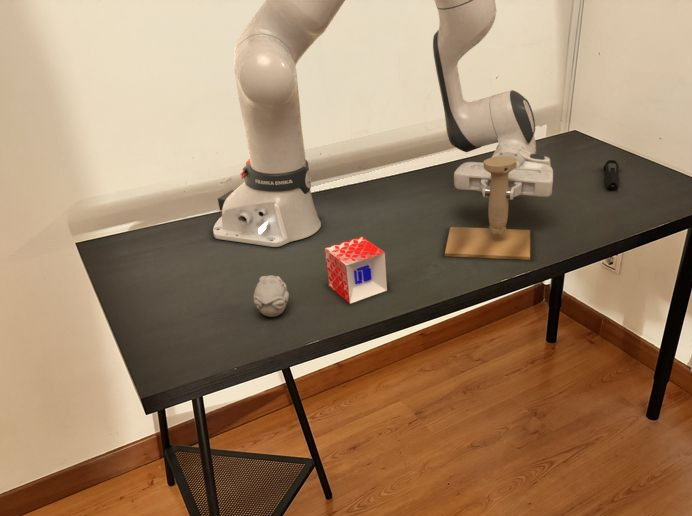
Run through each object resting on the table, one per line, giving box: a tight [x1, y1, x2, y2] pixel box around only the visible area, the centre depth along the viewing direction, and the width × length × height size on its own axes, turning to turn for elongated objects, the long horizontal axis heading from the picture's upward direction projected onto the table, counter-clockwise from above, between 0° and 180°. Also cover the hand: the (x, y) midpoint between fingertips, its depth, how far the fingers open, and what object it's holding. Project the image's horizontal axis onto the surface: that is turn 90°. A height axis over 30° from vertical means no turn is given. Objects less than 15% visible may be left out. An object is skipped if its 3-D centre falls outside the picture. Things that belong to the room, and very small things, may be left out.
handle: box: [483, 156, 517, 235], centre depth 143 cm, size 5×6×15 cm
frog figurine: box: [253, 274, 290, 318], centre depth 125 cm, size 6×7×7 cm
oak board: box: [444, 226, 531, 261], centre depth 148 cm, size 17×12×1 cm
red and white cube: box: [324, 236, 388, 305], centre depth 132 cm, size 8×8×8 cm
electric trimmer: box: [603, 159, 620, 190], centre depth 176 cm, size 4×16×3 cm, turn 171°
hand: (497, 194), depth 141 cm, fingers closed on handle, 3 cm apart
